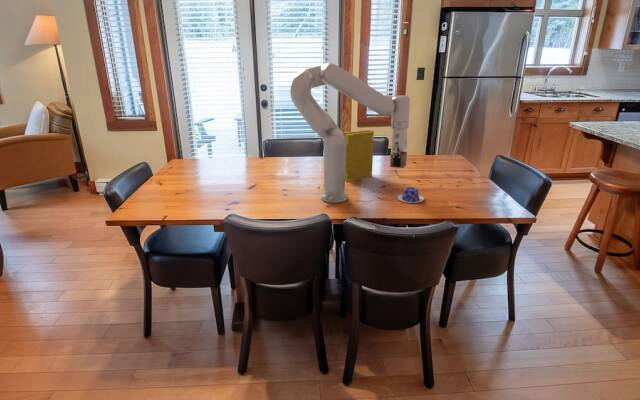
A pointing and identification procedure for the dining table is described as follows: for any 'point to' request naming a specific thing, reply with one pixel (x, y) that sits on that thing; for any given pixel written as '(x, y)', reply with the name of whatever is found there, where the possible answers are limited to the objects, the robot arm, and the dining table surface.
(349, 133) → the book
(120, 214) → the dining table surface
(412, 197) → the pudding
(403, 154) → the walnut cube
